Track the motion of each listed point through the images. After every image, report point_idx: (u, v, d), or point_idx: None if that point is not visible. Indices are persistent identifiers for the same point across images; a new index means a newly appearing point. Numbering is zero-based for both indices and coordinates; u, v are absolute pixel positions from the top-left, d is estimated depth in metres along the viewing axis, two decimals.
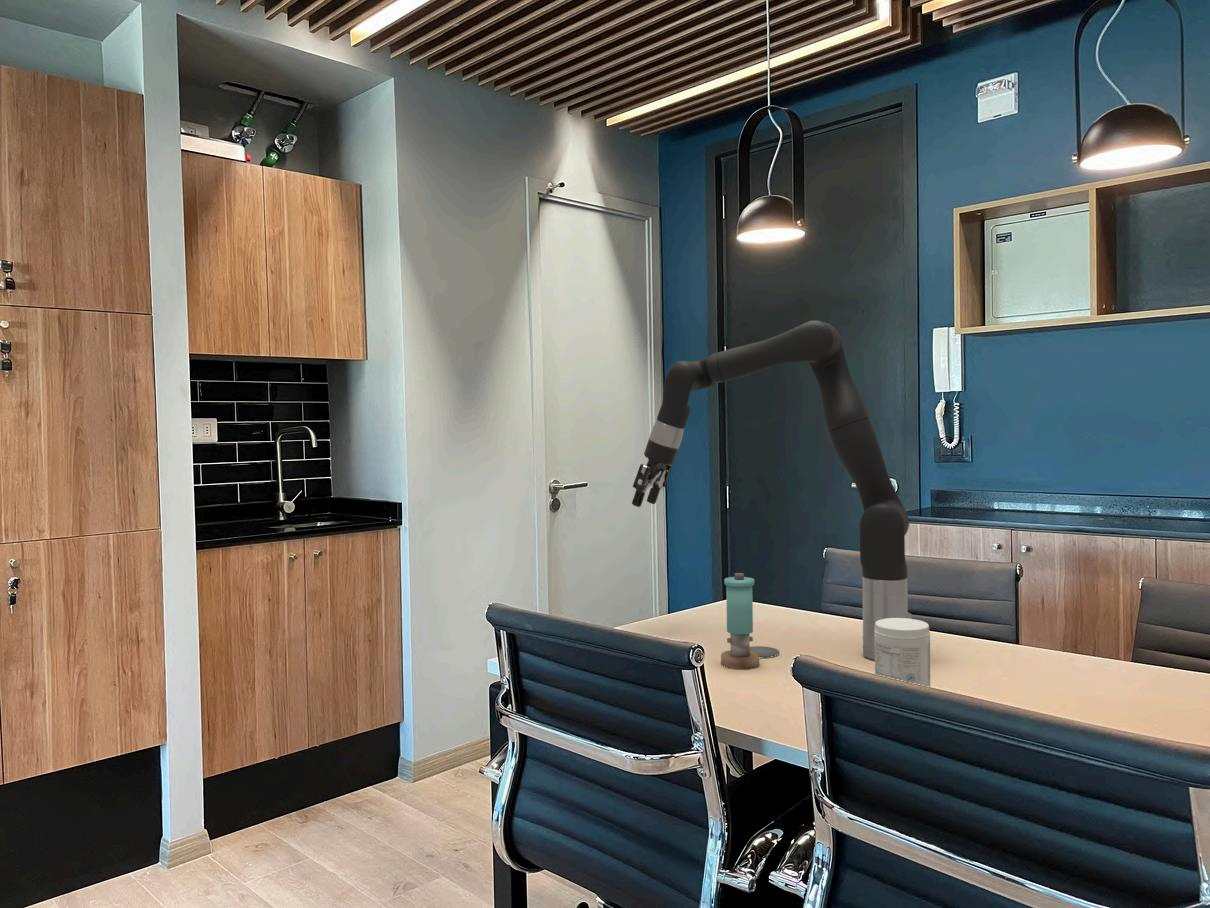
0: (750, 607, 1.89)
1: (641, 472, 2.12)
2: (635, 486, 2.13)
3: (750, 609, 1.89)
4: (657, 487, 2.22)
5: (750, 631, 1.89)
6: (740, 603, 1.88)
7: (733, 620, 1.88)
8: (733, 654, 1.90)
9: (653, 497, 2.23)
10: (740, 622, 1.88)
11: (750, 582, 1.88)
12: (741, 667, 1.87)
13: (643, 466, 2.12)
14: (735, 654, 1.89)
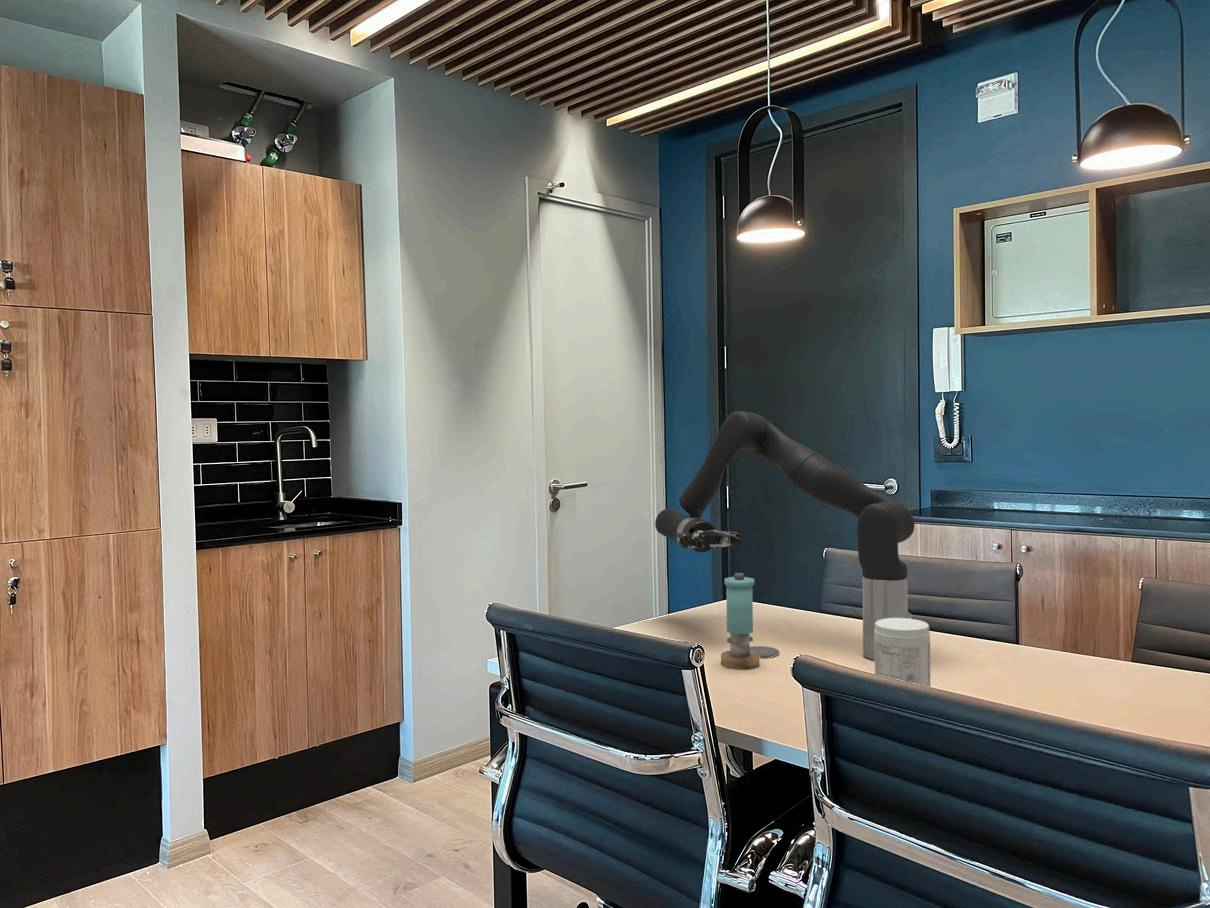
0: (750, 607, 1.89)
1: (679, 541, 2.07)
2: (682, 544, 2.04)
3: (750, 609, 1.89)
4: (730, 538, 2.06)
5: (750, 631, 1.89)
6: (740, 603, 1.88)
7: (733, 620, 1.88)
8: (733, 654, 1.90)
9: (734, 540, 2.03)
10: (740, 622, 1.88)
11: (750, 582, 1.88)
12: (741, 667, 1.87)
13: None
14: (735, 654, 1.89)
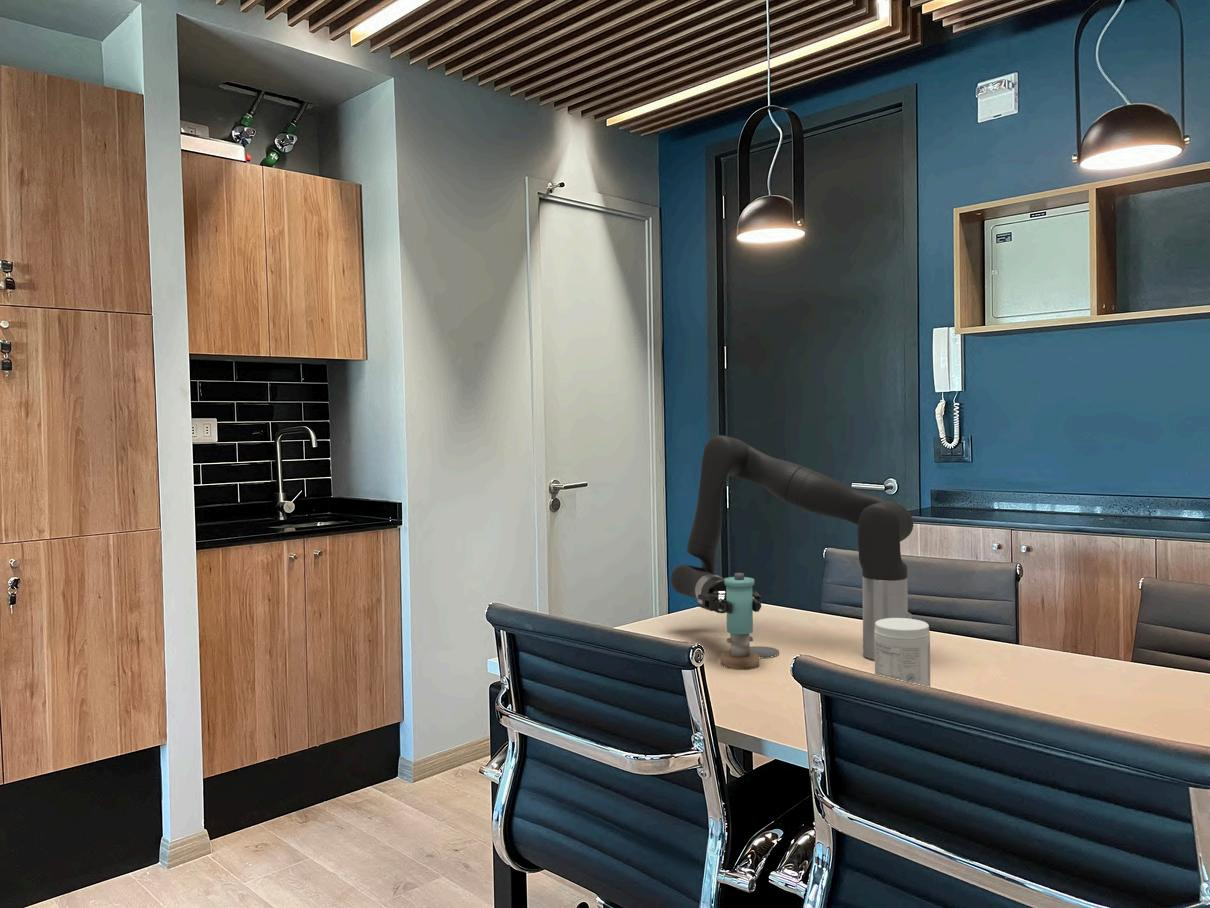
0: (750, 607, 1.89)
1: (701, 603, 1.95)
2: (709, 607, 1.91)
3: (750, 609, 1.89)
4: None
5: (750, 631, 1.89)
6: (740, 603, 1.88)
7: (733, 620, 1.88)
8: (733, 654, 1.90)
9: (753, 603, 1.90)
10: (740, 622, 1.88)
11: (750, 582, 1.88)
12: (741, 667, 1.87)
13: (698, 602, 1.96)
14: (735, 654, 1.89)
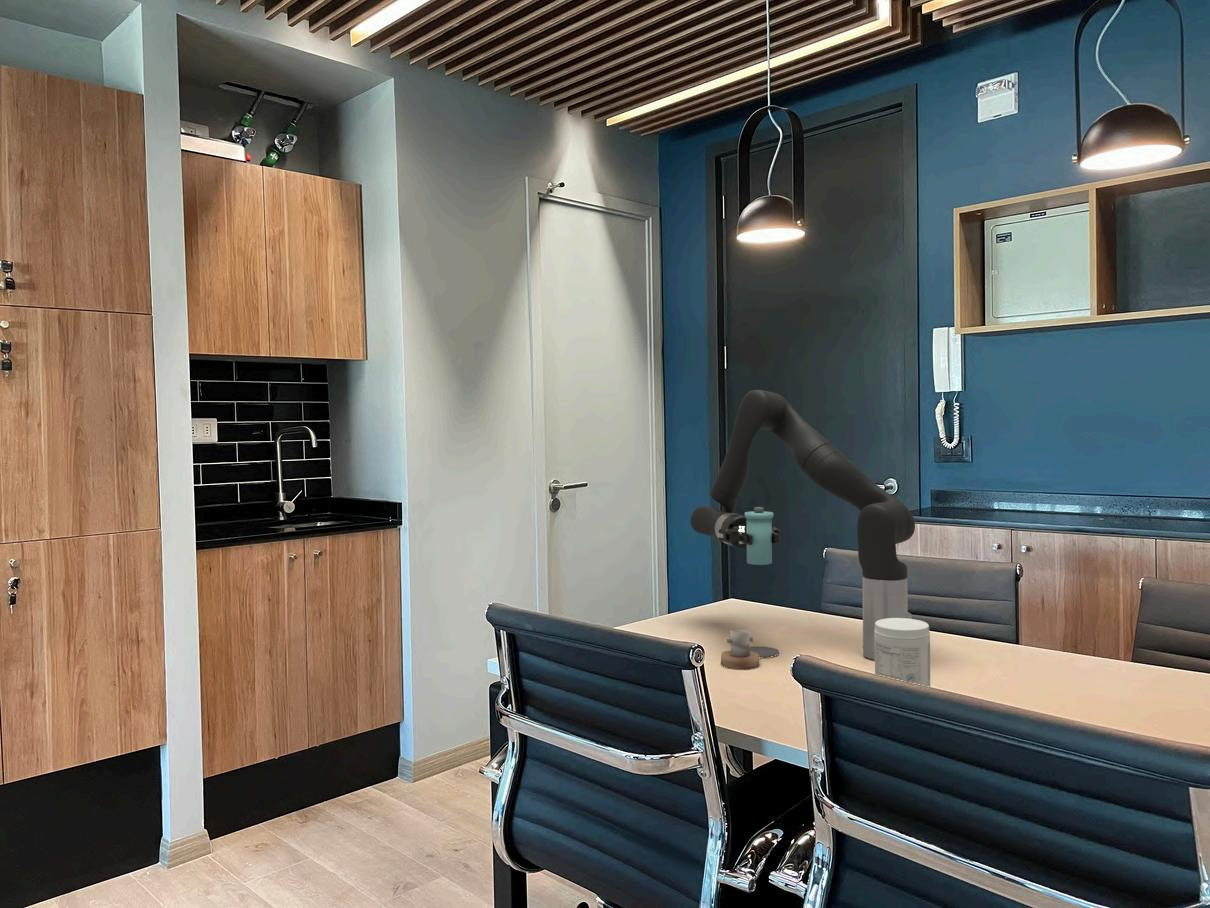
0: (769, 539, 1.97)
1: (722, 537, 2.03)
2: (730, 540, 1.99)
3: (769, 541, 1.97)
4: None
5: (769, 562, 1.97)
6: (760, 534, 1.96)
7: (753, 551, 1.96)
8: (733, 654, 1.90)
9: (772, 536, 1.98)
10: (759, 553, 1.96)
11: (769, 515, 1.96)
12: (741, 667, 1.87)
13: (718, 536, 2.04)
14: (735, 654, 1.89)
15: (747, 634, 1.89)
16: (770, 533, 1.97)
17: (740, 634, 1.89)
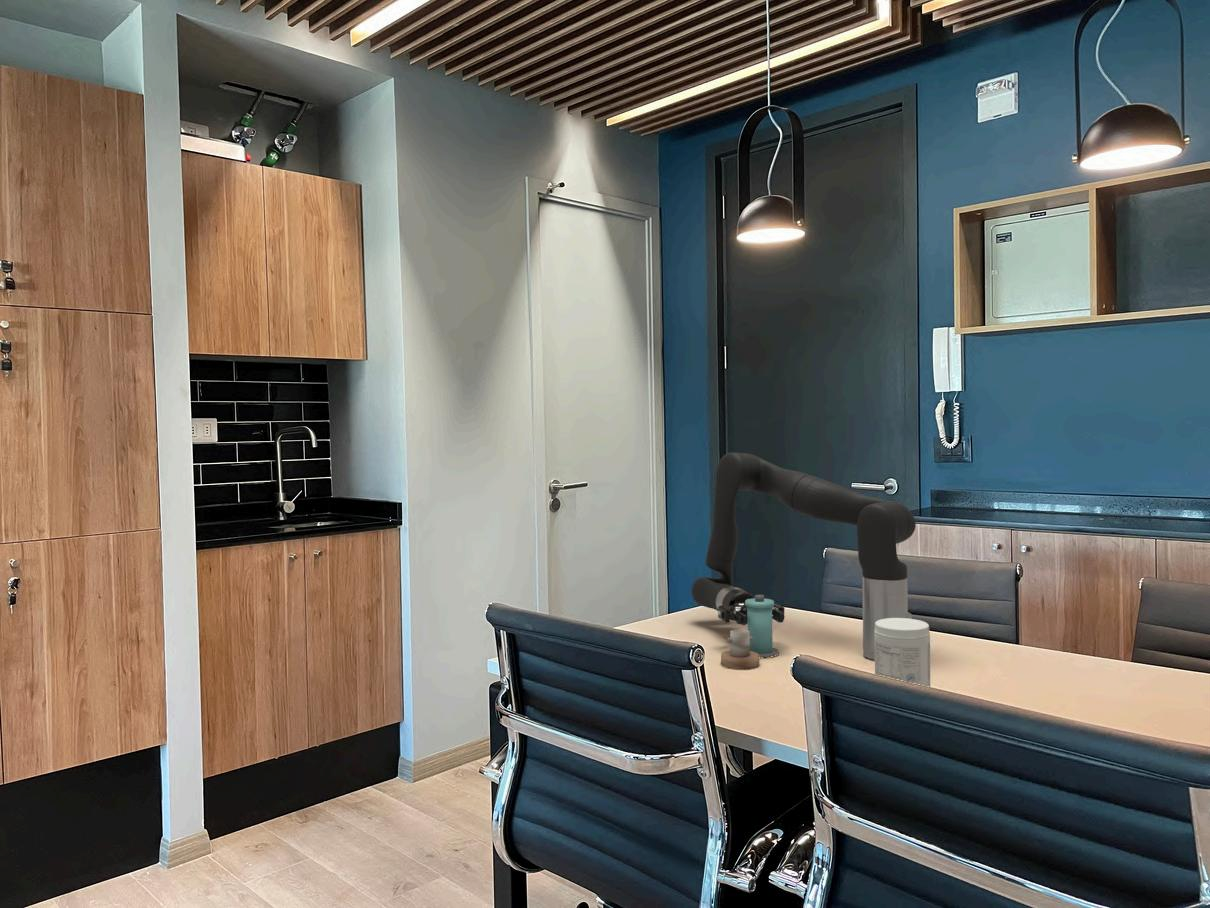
0: (770, 628, 1.97)
1: (720, 614, 2.04)
2: (724, 618, 2.00)
3: (770, 629, 1.97)
4: (773, 612, 2.02)
5: (770, 650, 1.98)
6: (761, 623, 1.96)
7: (754, 640, 1.97)
8: (733, 654, 1.90)
9: (777, 614, 2.00)
10: (760, 642, 1.97)
11: (770, 604, 1.97)
12: (741, 667, 1.87)
13: (718, 613, 2.05)
14: (735, 654, 1.89)
15: (747, 634, 1.89)
16: (771, 622, 1.98)
17: (740, 634, 1.89)
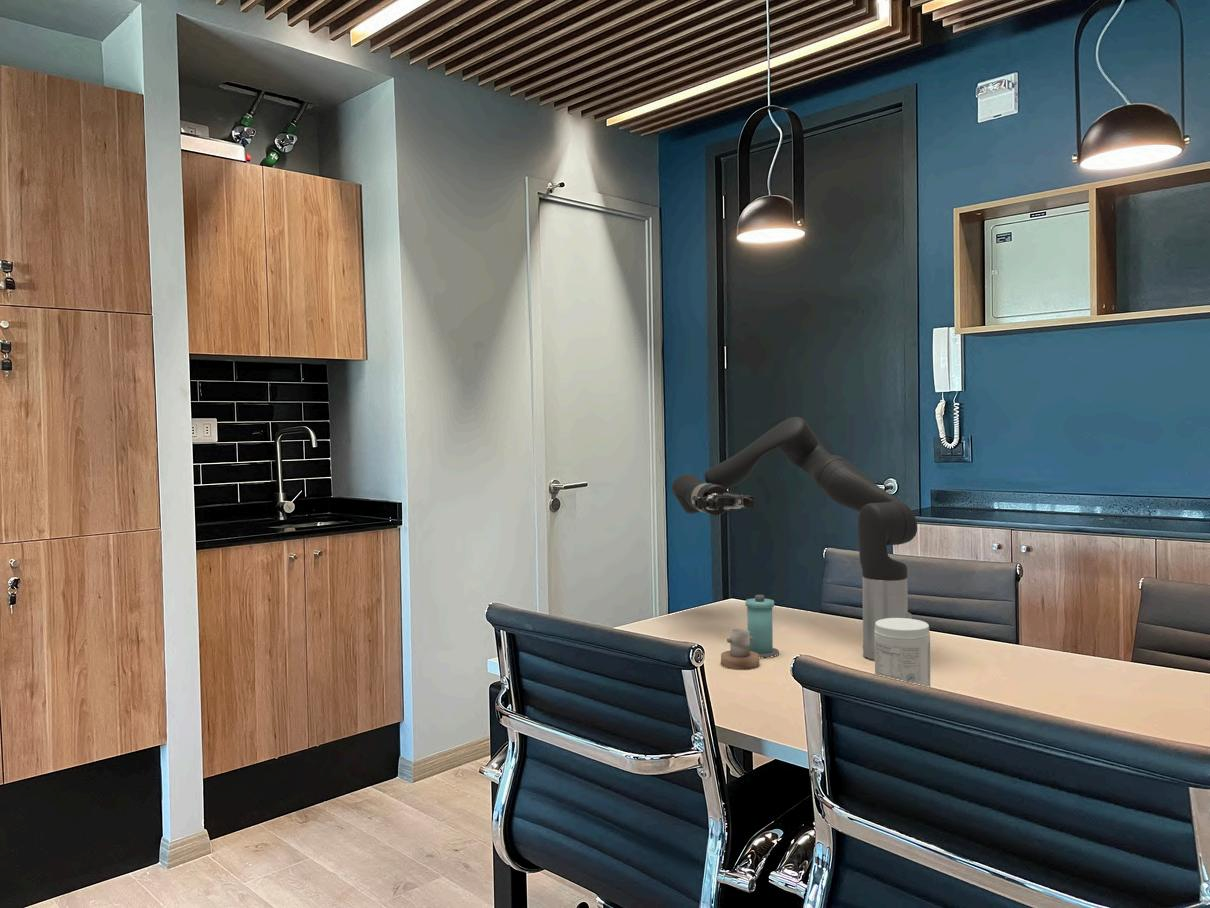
0: (770, 628, 1.97)
1: (693, 503, 2.15)
2: (697, 505, 2.12)
3: (770, 630, 1.97)
4: (743, 500, 2.14)
5: (770, 651, 1.98)
6: (761, 623, 1.96)
7: (754, 640, 1.97)
8: (733, 654, 1.90)
9: (747, 501, 2.11)
10: (760, 642, 1.97)
11: (770, 604, 1.97)
12: (741, 667, 1.87)
13: None
14: (735, 654, 1.89)
15: (747, 634, 1.89)
16: (771, 622, 1.98)
17: (740, 634, 1.89)
